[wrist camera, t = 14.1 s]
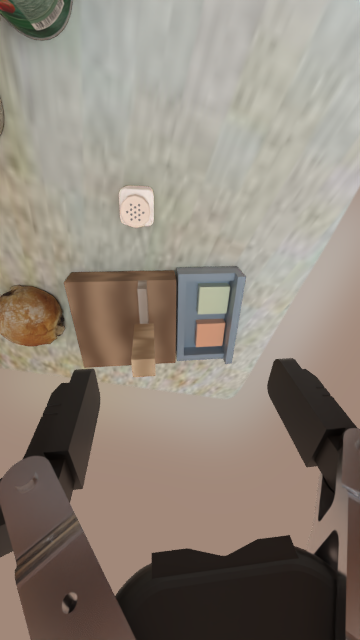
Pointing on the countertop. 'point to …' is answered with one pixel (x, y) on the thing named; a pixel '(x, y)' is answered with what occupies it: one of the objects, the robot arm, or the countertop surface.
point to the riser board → (121, 314)
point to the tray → (188, 314)
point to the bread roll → (30, 316)
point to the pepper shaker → (136, 206)
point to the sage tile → (212, 298)
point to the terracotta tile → (209, 332)
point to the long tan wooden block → (143, 338)
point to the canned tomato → (37, 16)
